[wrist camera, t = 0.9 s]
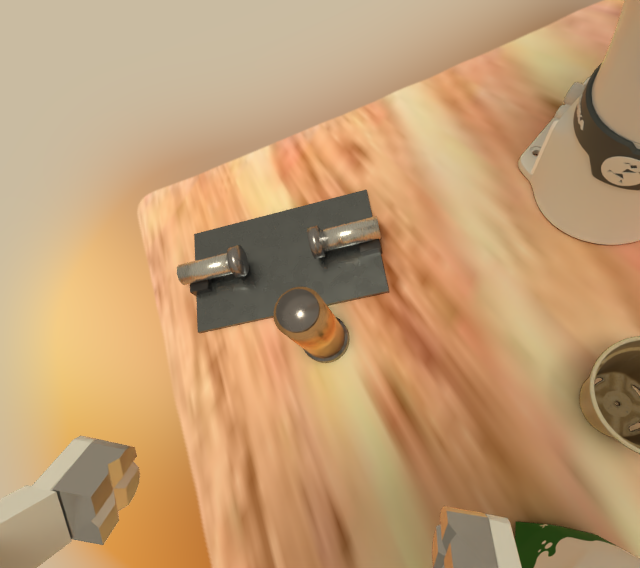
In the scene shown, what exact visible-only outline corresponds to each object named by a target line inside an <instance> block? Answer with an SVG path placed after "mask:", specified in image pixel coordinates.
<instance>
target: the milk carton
mask: <svg viewBox="0 0 640 568" xmlns="http://www.w3.org/2000/svg"><path fill="white" fill-rule="evenodd" d="M515 543H516V547H517V551H518V555H519V559H520V562H521V566H522V568H640V558H638V557H636V556H634V555H632V554H630V553H629V552H627V551H625V550H623V549H621V548H619V547H618V546H616V545H614V544H612V543H610V542H608V541H607V540H605V539H603V538H601V537H599V536H597V535H595V534H592V533H587V532H583V531H578V530H574V529H569V528H565V527H561V526H556V525H550V524H539V523H527V522H516V527H515Z"/></svg>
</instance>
